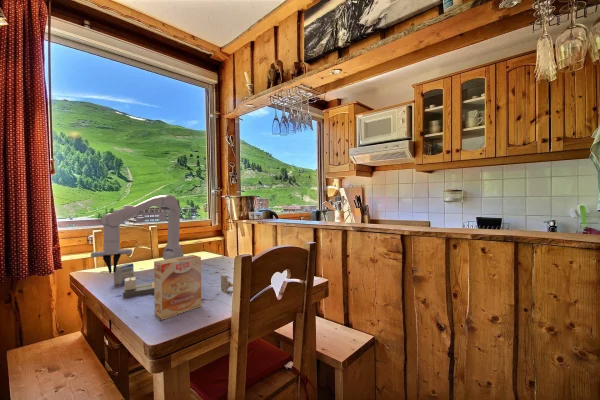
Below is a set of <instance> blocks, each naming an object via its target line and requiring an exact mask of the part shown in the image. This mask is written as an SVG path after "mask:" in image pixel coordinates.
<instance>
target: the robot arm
mask: <svg viewBox="0 0 600 400" xmlns="http://www.w3.org/2000/svg"><path fill="white" fill-rule="evenodd" d="M155 206H156V207H158V208H160V209H162V210H164V211H165V212H166V213H167V214H168V217H167V218H168V220H167V221H168V222H167V243H166V245H165V246H164V251H163V252H162V258H163V259H162V260H166V259H171V258H177V257H183V256H184V252H183V247H182V246H181V244H180V222H181V221H180V220H181V209H180V205H179V204H178V199H177V198H176V197H175V196H174V195H172V194H165V195H164V194H162V195H161V194H159V195H157V196H153V197H150V198H148V199H147V200H144V201H142V202H139V203H138V204H136V205H131V204H129V205H128V204H125V205H123V207H122V208H119V209H117V210H116V209H114V210H112V213H111V212H109V213H105V214H104V215H103V216H102V217H101V219H100V223H101V224H102V226H103V250H101V251H92V252H91V253H90V259H93V258H99V257H102V260H103V261H104V263H105V264H106V267H107V269H108V273H109V274H112V271H113V274H114V272H116V267H117V266H118V262H119V261H120V258H121V256H122V255H132V254H133V249H132V248H125V249H121V244H120V243H121V241H120V240H121V237H120V226H121V224H122V223H124V222H126V221H128V220H131V219H133V218H135V217H137V215H138V213H139V212H143V211H144V210H147V209H149V208H153V207H155ZM112 256H113V257H112ZM112 258H113V259H112ZM112 261H113V268H112Z"/></svg>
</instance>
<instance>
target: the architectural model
mask: <svg viewBox="0 0 600 400" xmlns="http://www.w3.org/2000/svg"><path fill="white" fill-rule="evenodd" d="M229 279H230V278H229V275H225V276H224V275H220V291H221V292H223V293H225V294H226V293H227V294H228V290H229V288H232V287H234V286H233V284H234V283H232V282H231V281H229Z"/></svg>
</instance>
